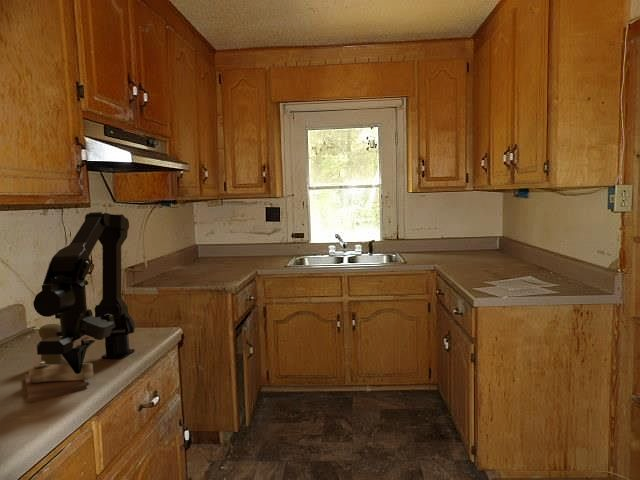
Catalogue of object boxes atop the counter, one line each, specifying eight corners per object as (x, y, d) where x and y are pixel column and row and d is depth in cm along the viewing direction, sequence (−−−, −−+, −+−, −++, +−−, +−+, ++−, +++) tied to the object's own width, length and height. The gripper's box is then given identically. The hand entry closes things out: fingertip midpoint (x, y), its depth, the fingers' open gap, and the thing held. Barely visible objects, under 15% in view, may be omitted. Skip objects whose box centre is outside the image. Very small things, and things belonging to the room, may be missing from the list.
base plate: (25, 378, 117) (24, 374, 117) (76, 367, 123) (76, 363, 123) (28, 402, 102) (28, 398, 102) (86, 388, 109) (86, 384, 109)
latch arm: (25, 383, 110) (24, 371, 110) (37, 376, 114) (35, 364, 114) (88, 380, 110) (87, 368, 110) (97, 373, 114) (96, 361, 114)
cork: (60, 359, 131) (56, 320, 129) (70, 363, 127) (66, 323, 126) (36, 365, 126) (32, 325, 125) (45, 370, 122) (41, 329, 121)
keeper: (35, 388, 110) (33, 364, 109) (32, 379, 116) (30, 356, 116) (79, 378, 115) (77, 354, 115) (74, 369, 122) (72, 347, 121)
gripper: (81, 315, 99) (86, 388, 100) (126, 299, 117) (130, 360, 118) (32, 316, 100) (37, 388, 101) (84, 300, 119) (88, 361, 119)
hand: (77, 373), depth 110 cm, fingers closed
